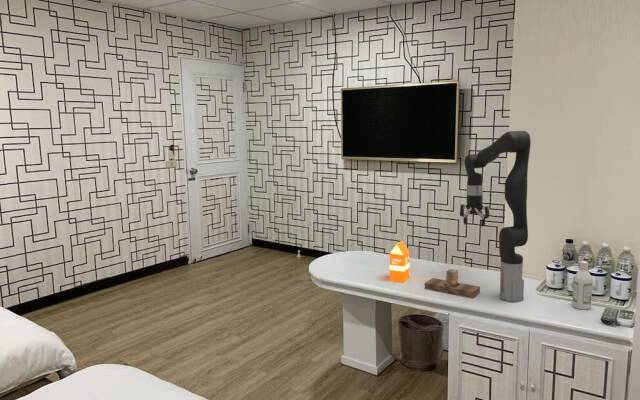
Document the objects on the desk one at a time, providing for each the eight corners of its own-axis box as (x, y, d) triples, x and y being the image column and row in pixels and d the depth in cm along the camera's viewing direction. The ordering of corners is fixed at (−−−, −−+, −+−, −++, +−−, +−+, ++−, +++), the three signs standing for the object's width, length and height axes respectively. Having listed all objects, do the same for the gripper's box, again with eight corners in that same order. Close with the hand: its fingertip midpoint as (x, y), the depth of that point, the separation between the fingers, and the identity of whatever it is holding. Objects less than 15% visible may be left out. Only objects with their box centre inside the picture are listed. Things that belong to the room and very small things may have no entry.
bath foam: (592, 306, 202) (595, 261, 199) (588, 311, 197) (591, 265, 194) (575, 302, 207) (577, 258, 204) (570, 307, 202) (572, 262, 199)
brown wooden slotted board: (480, 292, 222) (480, 286, 222) (473, 298, 215) (473, 292, 215) (432, 283, 237) (432, 278, 236) (424, 288, 230) (424, 282, 229)
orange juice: (409, 278, 247) (409, 240, 244) (403, 283, 239) (403, 244, 236) (395, 276, 251) (395, 239, 248) (389, 280, 243) (389, 243, 240)
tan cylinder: (457, 290, 226) (457, 270, 225) (454, 292, 223) (454, 272, 222) (449, 288, 229) (449, 268, 227) (446, 291, 226) (446, 271, 224)
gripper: (458, 194, 238) (457, 225, 240) (486, 195, 229) (485, 228, 232) (463, 192, 244) (463, 223, 246) (491, 193, 235) (490, 225, 238)
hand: (474, 225), depth 239 cm, fingers open, 8 cm apart
